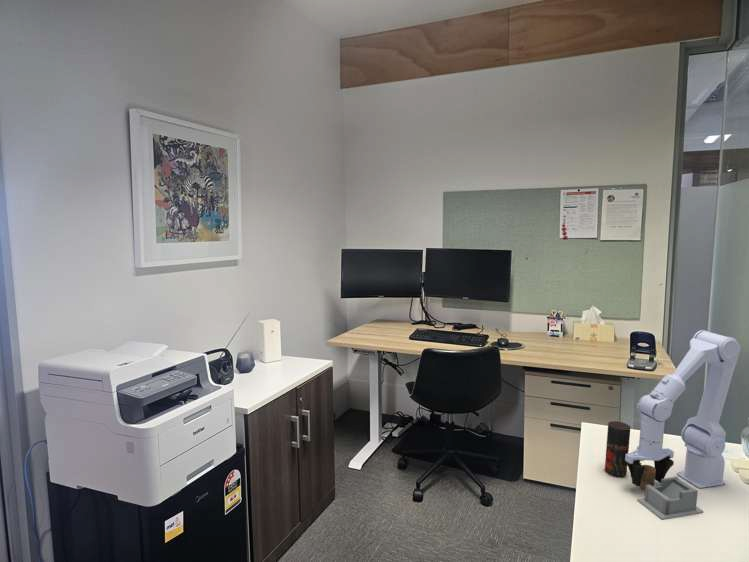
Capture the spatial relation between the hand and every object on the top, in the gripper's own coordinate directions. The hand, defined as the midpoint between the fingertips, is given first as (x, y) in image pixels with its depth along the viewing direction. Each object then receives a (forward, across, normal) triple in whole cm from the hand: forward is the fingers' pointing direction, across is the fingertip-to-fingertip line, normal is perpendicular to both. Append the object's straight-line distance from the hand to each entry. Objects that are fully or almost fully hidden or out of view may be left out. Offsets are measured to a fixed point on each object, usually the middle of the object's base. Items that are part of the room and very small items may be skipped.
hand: (647, 482), depth 138 cm
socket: (+1, +1, +9) cm, 9 cm away
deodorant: (+2, +3, -9) cm, 10 cm away
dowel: (+1, 0, 0) cm, 1 cm away
